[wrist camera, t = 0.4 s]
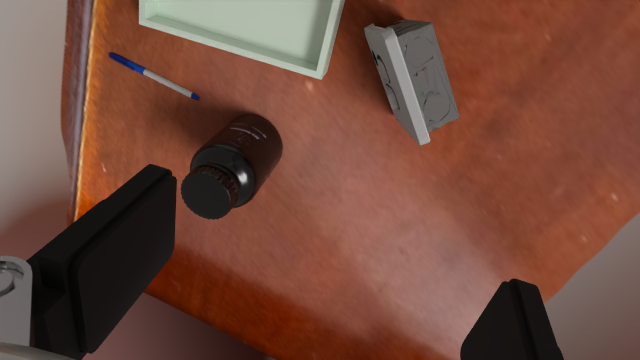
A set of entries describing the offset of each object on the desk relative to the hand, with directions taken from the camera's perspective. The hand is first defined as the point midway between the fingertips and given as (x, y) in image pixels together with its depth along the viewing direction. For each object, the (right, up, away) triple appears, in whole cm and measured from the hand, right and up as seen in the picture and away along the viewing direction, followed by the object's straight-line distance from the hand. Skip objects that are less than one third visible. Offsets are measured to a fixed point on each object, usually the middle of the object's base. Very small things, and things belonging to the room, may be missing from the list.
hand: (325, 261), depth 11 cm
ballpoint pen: (-18, +14, +33) cm, 40 cm away
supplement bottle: (-7, +7, +34) cm, 36 cm away
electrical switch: (+8, +13, +27) cm, 31 cm away
